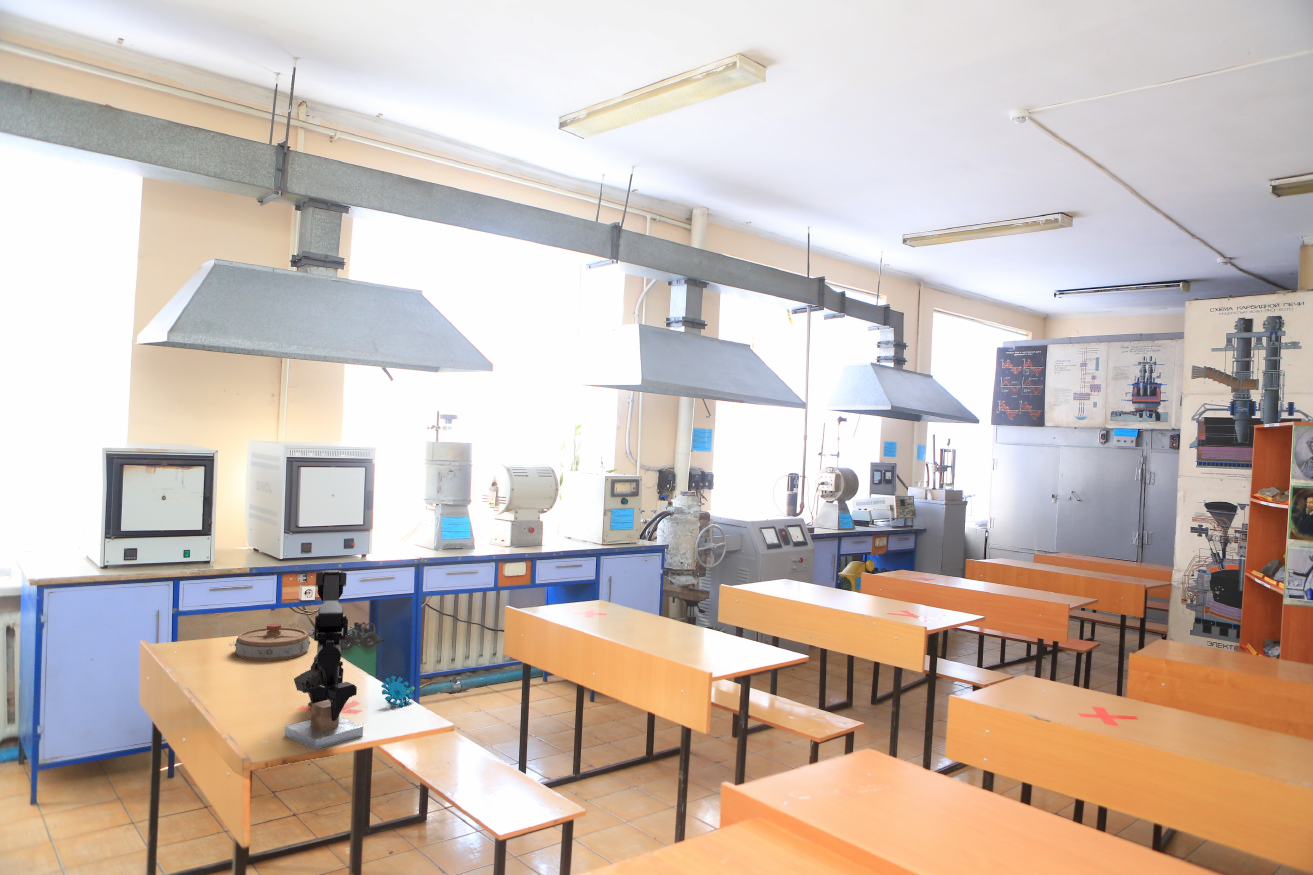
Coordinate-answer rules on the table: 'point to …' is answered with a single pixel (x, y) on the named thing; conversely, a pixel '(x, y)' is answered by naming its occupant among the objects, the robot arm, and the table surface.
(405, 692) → the blue spiky blob
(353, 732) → the base plate
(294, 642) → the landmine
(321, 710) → the walnut block
